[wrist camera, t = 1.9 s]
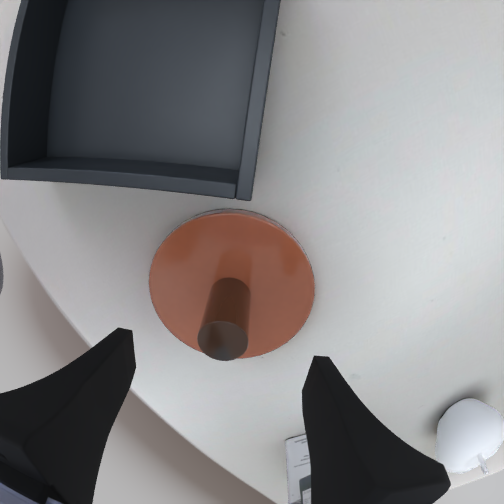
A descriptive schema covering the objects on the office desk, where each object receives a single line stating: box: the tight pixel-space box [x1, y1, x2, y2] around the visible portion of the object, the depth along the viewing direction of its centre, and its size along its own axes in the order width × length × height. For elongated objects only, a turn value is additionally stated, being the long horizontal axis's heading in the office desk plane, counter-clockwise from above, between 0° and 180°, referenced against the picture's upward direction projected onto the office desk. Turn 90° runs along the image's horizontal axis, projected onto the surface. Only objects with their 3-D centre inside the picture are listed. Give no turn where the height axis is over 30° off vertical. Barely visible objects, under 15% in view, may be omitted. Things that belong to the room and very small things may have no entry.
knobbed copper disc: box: [149, 209, 315, 361], centre depth 16 cm, size 9×9×5 cm
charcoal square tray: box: [0, 0, 281, 201], centre depth 11 cm, size 12×12×4 cm
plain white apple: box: [435, 398, 504, 475], centre depth 19 cm, size 7×7×8 cm
